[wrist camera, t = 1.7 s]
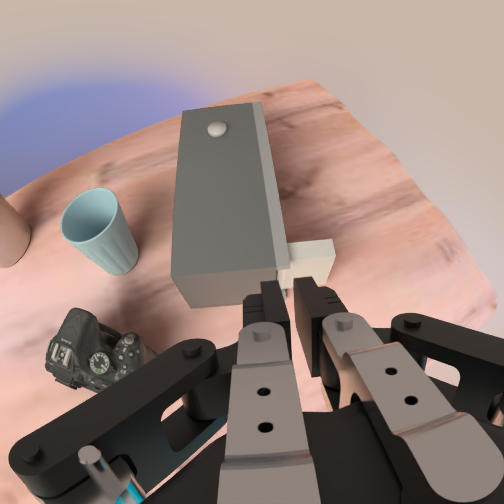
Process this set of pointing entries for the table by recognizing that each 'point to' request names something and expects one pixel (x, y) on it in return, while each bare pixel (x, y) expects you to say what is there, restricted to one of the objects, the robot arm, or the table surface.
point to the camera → (93, 353)
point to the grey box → (225, 207)
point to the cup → (100, 230)
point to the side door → (308, 262)
